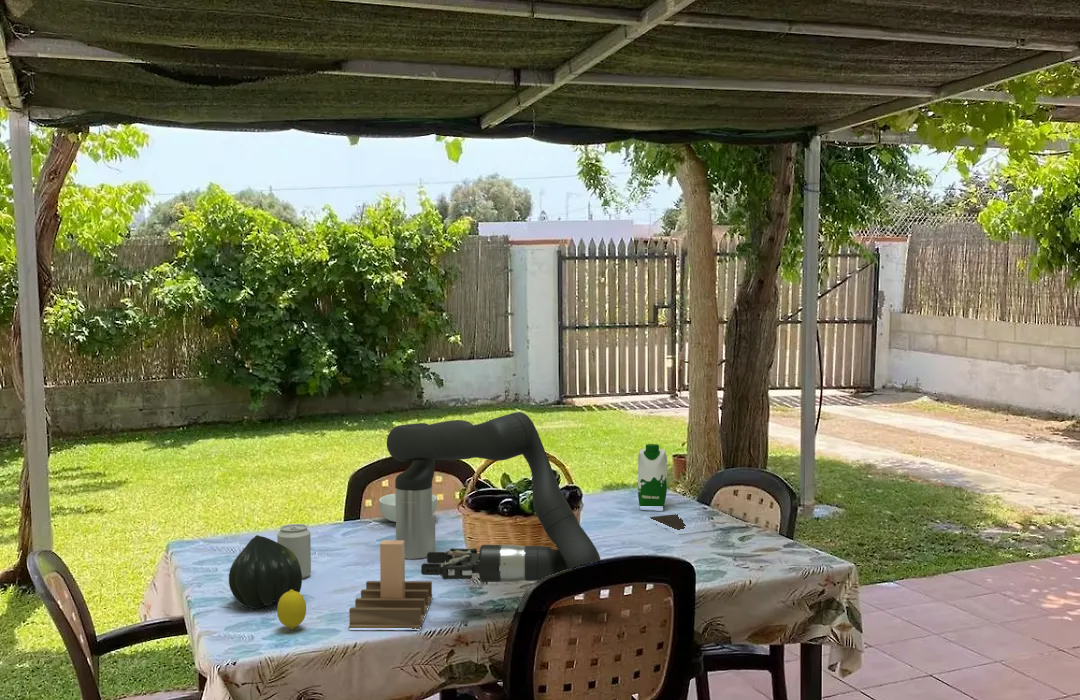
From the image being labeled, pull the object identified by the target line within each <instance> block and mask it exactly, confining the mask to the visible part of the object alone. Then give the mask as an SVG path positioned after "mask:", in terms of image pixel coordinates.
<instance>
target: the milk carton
mask: <svg viewBox="0 0 1080 700" xmlns="http://www.w3.org/2000/svg"><path fill="white" fill-rule="evenodd" d="M667 456H668V455H667V449H666V448H665V449H663V448H662V449H661V448H660V445H659V444H655V443H654V444H653V443H647V444H645V448H641V449H640V450H639V452H638V457H637V459H638V460H637V461H638V463H637V498H638V505H639V506H664V507H665V505H664V504H665V503H666V499H667V492H668V457H667Z"/></svg>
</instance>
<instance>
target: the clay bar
mask: <svg viewBox="0 0 1080 700" xmlns="http://www.w3.org/2000/svg"><path fill="white" fill-rule="evenodd" d="M379 556H380V557H379V558H380V560H379V561H380V562H379V563H380V564H379V565H380V567H379V569H380V574H379V575H380V578H379V579H380V580H379V581H380V584H381V598H405V581H406V558H405V540H396V539H394V540H389V539H387V540H386V539H385V540H384V539H382V541H380V543H379Z"/></svg>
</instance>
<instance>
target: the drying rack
mask: <svg viewBox="0 0 1080 700" xmlns="http://www.w3.org/2000/svg"><path fill="white" fill-rule="evenodd" d="M432 583H433V582H432V581H431V580H430V581H427V580H423V581H422V580H420V581H419V580H416V581H413V580H405V598H381V584H380V580H378V581H377V580H372V581H371V580H367V581H366V583H365V589H361V590H360V597H356V598H355V600H354V601H355V604H354V605H355V606H354V607H350V608H349V610H348V613H349V615H348V617H349V621H348V622H349V625H348V629H349V628H412V629H415V628H416V629H420V627H421V624H422V622H423V619H424V616H425V614H426V611H427V608H428V606H429V604H430V605H431V603H430V601H431V598H432V599H433V584H432ZM431 602H432V601H431ZM429 607H430V606H429ZM428 609H429V608H428ZM427 612H428V611H427ZM426 615H427V614H426ZM425 617H426V616H425ZM424 620H425V619H424ZM423 623H424V622H423ZM422 625H423V624H422ZM421 628H422V627H421Z"/></svg>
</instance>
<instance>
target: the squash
mask: <svg viewBox="0 0 1080 700" xmlns="http://www.w3.org/2000/svg"><path fill="white" fill-rule="evenodd" d="M302 583H303V579H302V573H301V567H300V564H299V561H298V559H297V557H296V556H295V554H294V553H293V552H292V551H291V550H289V549H288V548H286V547H285V546H283V545H281V544H279V543H277V541H275V540H273V539H270V538H268V537H266V536H263V535H258V534H257V535H255V536H254V537H252V539H251V540H250V541H249V542H248V543H247V544H246V545H245V547H244V548H243V549H242V551H241V552H240V553H239V554H238V555H237V556H236V558H235V559H234V561H233V562H232V564H231V567H230V569H229V574H228V585H229V589H230V591H231V593H232V595H233V597H234V598H235V600H237V602H238V603H240V604H241V605H243V606H246V607H249V608H252V609H261V608H262V607H264V606H270V605H272V604H273V602H274V603H278V602H279V600H280V598H281V596H282V595H283V594H285V593H286V592H288V591H289V590H294V591H296V592H299V593H301V590H302Z"/></svg>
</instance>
